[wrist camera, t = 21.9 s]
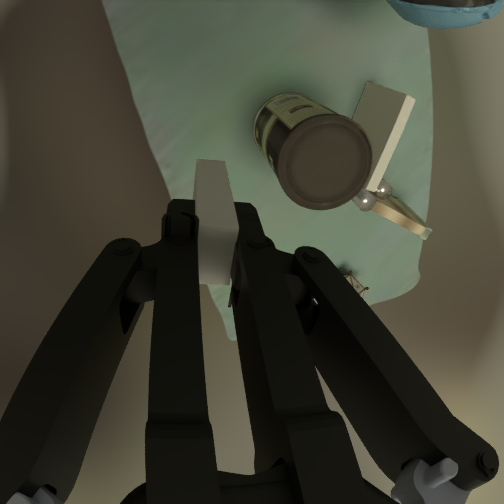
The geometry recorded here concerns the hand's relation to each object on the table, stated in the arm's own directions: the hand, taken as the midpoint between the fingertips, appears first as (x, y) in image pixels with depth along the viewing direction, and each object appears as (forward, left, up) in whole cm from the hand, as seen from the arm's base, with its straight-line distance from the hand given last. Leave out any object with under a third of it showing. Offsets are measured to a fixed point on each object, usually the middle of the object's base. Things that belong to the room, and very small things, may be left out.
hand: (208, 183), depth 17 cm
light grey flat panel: (-4, +21, -26) cm, 34 cm away
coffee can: (0, +12, -26) cm, 29 cm away
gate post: (+4, +21, -26) cm, 34 cm away
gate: (+5, +29, -25) cm, 39 cm away
